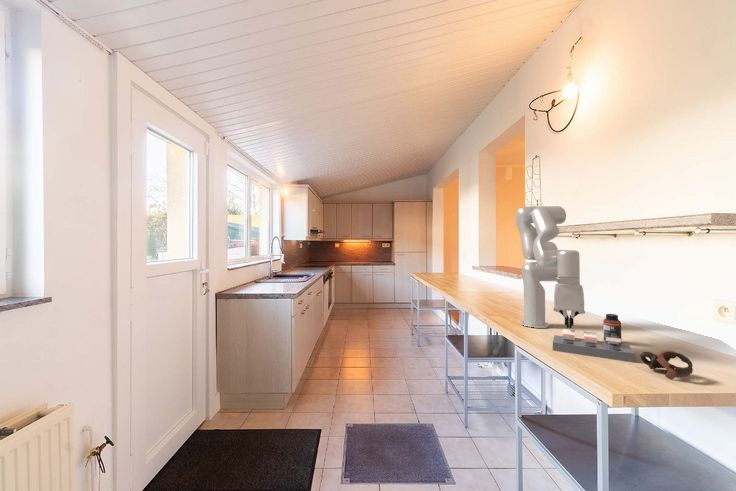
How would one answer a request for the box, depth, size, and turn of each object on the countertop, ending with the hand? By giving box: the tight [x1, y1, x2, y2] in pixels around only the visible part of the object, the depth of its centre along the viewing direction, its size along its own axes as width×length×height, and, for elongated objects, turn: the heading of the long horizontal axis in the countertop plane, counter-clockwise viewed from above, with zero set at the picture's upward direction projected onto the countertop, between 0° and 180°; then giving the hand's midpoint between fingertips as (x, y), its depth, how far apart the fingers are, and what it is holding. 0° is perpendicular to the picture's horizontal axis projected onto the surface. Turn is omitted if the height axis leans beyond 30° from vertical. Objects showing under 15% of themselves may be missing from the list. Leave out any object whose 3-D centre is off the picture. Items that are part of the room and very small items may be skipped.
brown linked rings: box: [639, 350, 694, 381], centre depth 99 cm, size 12×10×8 cm
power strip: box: [552, 334, 635, 363], centre depth 120 cm, size 12×24×3 cm, turn 57°
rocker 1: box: [561, 328, 576, 340], centre depth 126 cm, size 6×4×2 cm, turn 147°
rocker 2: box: [606, 337, 622, 345], centre depth 119 cm, size 6×4×2 cm, turn 147°
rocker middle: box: [583, 331, 598, 343], centre depth 123 cm, size 6×4×2 cm, turn 147°
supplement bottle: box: [602, 313, 623, 344], centre depth 133 cm, size 6×6×11 cm
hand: (569, 327), depth 128 cm, fingers closed
